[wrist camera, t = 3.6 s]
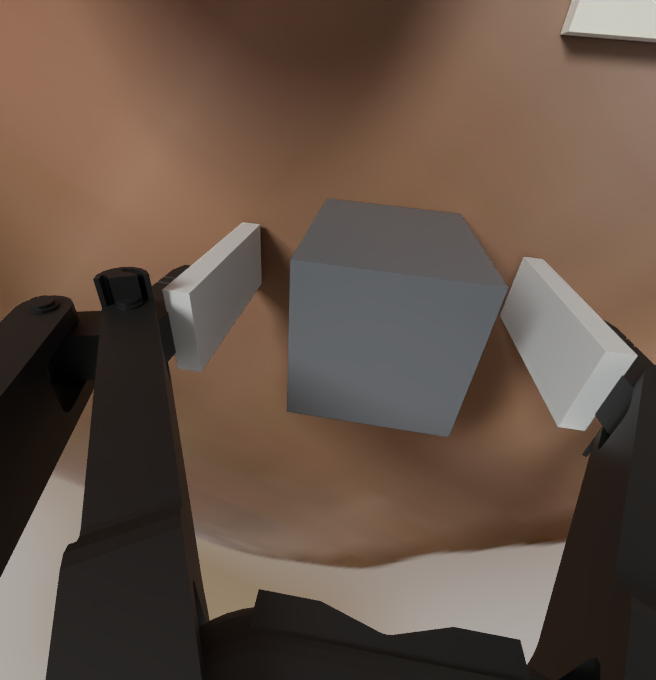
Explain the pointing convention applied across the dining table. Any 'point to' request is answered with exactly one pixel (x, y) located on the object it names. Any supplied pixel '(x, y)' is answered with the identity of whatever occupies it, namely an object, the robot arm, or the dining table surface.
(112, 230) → the dining table surface
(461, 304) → the grey rectangular block
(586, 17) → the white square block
